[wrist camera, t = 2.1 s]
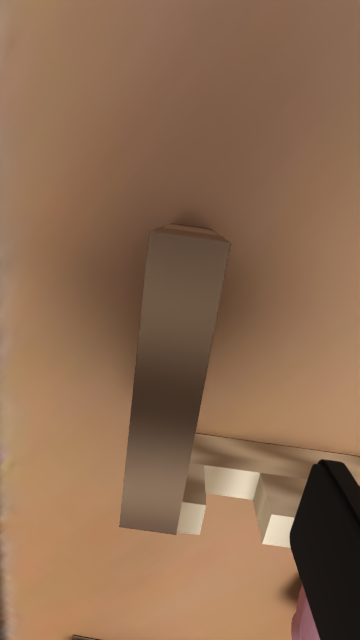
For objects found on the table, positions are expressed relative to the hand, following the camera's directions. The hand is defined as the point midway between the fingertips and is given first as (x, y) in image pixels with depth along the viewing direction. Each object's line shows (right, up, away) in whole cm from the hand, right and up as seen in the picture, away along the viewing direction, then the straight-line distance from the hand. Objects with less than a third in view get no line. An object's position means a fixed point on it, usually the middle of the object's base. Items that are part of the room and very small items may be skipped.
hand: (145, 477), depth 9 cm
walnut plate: (+1, +4, +12) cm, 12 cm away
